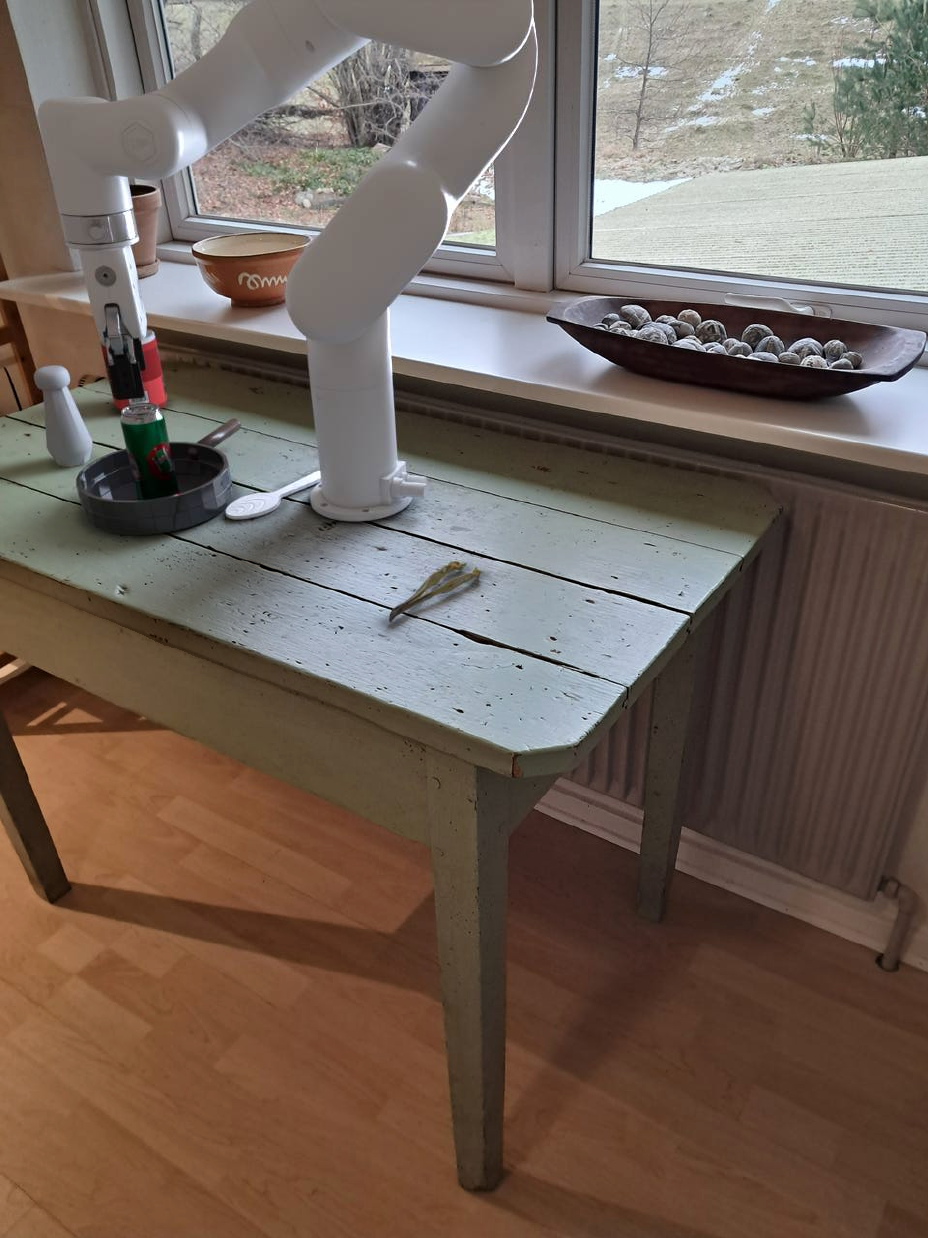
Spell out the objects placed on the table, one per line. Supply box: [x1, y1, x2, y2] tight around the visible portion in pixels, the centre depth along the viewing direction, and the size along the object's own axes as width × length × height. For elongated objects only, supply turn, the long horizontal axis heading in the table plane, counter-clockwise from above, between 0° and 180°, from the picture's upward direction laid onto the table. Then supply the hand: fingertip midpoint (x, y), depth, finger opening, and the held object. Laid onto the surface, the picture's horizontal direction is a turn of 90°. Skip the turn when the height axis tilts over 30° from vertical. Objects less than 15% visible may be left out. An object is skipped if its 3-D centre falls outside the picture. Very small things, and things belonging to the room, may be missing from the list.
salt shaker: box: [33, 365, 93, 468], centre depth 129 cm, size 6×6×13 cm
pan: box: [75, 441, 234, 536], centre depth 119 cm, size 18×18×4 cm
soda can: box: [119, 403, 180, 500], centre depth 117 cm, size 5×5×12 cm
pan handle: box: [187, 418, 242, 460], centre depth 129 cm, size 2×12×2 cm, turn 161°
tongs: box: [388, 560, 484, 624], centre depth 99 cm, size 4×13×2 cm, turn 145°
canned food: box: [99, 328, 168, 413], centre depth 147 cm, size 8×8×11 cm
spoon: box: [225, 469, 321, 520], centre depth 122 cm, size 5×18×1 cm, turn 139°
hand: (131, 384), depth 112 cm, fingers open, 9 cm apart
